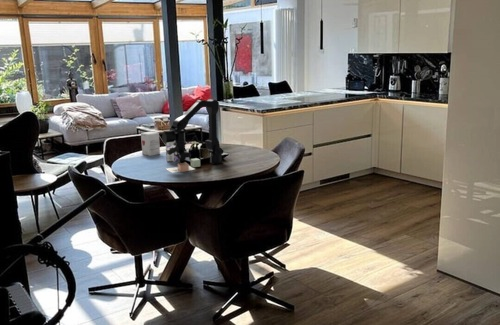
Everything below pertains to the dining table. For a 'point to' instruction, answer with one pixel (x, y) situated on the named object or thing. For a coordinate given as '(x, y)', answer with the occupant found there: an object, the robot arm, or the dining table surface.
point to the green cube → (195, 162)
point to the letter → (177, 169)
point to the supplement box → (150, 143)
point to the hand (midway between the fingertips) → (181, 166)
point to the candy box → (171, 157)
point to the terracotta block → (183, 167)
